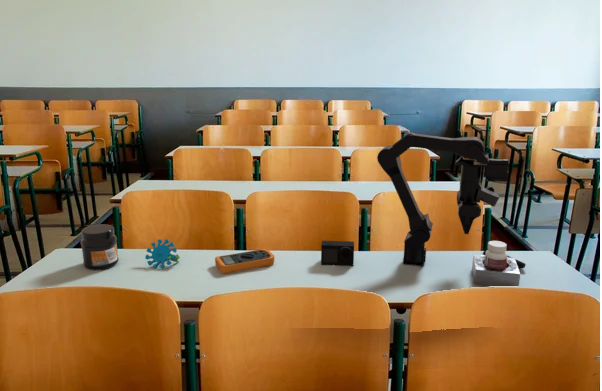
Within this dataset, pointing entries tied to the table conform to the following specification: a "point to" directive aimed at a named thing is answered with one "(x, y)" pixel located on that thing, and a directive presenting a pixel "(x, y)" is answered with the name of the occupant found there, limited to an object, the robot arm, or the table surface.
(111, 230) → the supplement container
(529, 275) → the table surface
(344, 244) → the digital camera
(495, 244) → the pill bottle
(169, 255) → the toy virus model
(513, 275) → the grey square holder
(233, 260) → the multimeter
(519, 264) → the electric trimmer
